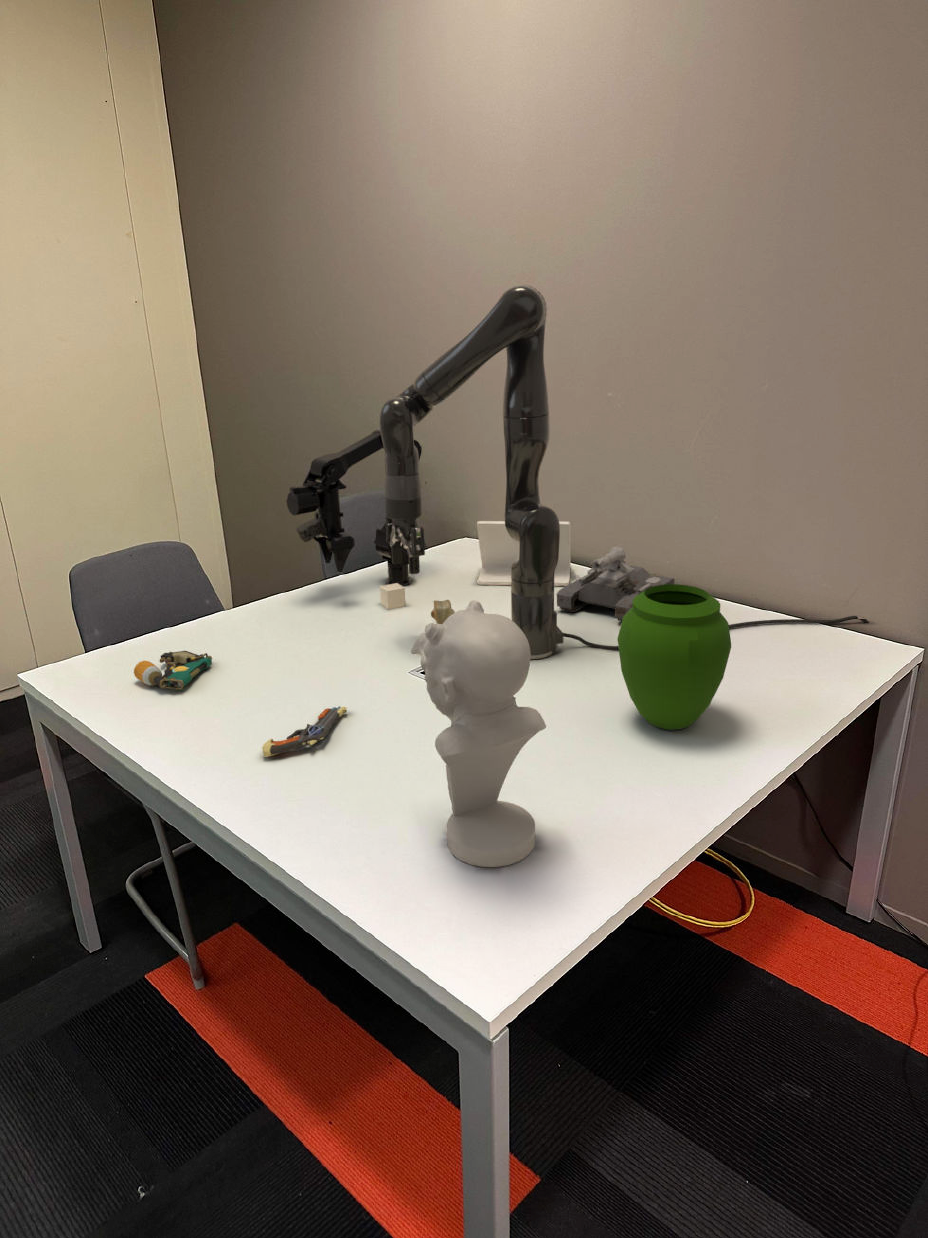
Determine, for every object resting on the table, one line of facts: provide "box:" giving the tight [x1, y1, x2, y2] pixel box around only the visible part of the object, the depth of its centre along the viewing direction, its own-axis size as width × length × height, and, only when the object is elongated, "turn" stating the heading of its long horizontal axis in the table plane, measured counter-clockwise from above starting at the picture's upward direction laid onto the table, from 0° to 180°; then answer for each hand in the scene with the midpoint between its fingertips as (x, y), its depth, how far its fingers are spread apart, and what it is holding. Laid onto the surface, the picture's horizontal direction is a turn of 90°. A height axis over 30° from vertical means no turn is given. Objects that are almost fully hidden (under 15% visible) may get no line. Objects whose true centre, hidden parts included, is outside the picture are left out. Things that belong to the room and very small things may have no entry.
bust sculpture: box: [410, 599, 547, 868], centre depth 121 cm, size 16×24×35 cm
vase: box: [616, 583, 732, 731], centre depth 151 cm, size 20×20×24 cm
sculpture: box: [430, 599, 456, 624], centre depth 177 cm, size 6×7×15 cm
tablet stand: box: [476, 520, 572, 587], centre depth 236 cm, size 18×25×17 cm
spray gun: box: [133, 650, 213, 690], centre depth 180 cm, size 4×17×15 cm
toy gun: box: [261, 705, 348, 758], centre depth 154 cm, size 3×19×10 cm
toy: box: [556, 546, 676, 622], centre depth 212 cm, size 25×20×15 cm
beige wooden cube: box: [379, 583, 406, 610], centre depth 218 cm, size 5×5×5 cm
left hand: (333, 567), depth 221 cm, fingers open, 9 cm apart
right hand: (405, 568), depth 185 cm, fingers open, 8 cm apart
